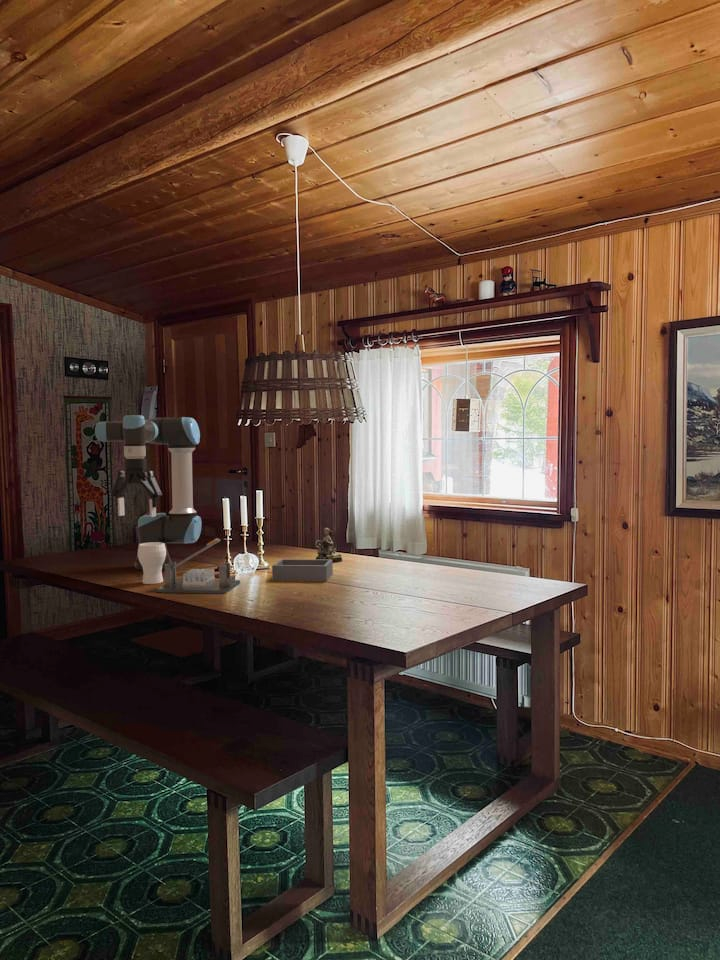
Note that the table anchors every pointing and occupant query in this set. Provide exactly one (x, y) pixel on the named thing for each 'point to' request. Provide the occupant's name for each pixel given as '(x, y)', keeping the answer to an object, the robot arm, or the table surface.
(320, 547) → the figurine
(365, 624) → the table surface
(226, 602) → the table surface
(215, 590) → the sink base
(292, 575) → the tray
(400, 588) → the table surface
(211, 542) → the strap
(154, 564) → the cup
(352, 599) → the table surface
